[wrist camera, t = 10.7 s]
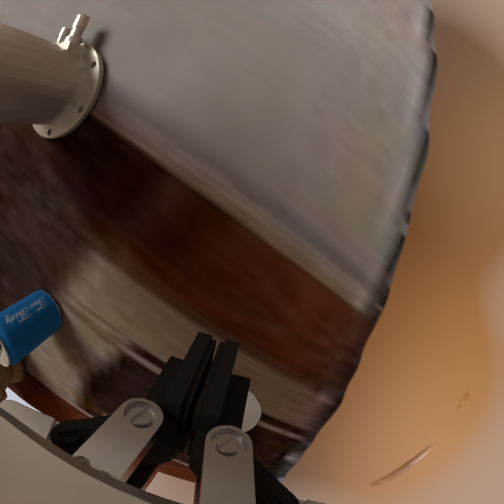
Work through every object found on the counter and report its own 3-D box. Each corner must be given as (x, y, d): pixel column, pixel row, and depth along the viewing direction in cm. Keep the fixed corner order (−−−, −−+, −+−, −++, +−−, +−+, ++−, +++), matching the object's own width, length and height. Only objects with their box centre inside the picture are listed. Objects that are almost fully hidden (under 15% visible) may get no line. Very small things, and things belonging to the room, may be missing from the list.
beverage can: (68, 308, 32) (11, 351, 20) (60, 336, 34) (11, 378, 22) (39, 279, 32) (-20, 312, 20) (33, 308, 33) (-18, 343, 22)
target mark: (176, 363, 32) (175, 364, 32) (272, 389, 31) (272, 390, 31) (171, 419, 35) (170, 420, 35) (249, 441, 35) (249, 442, 34)
